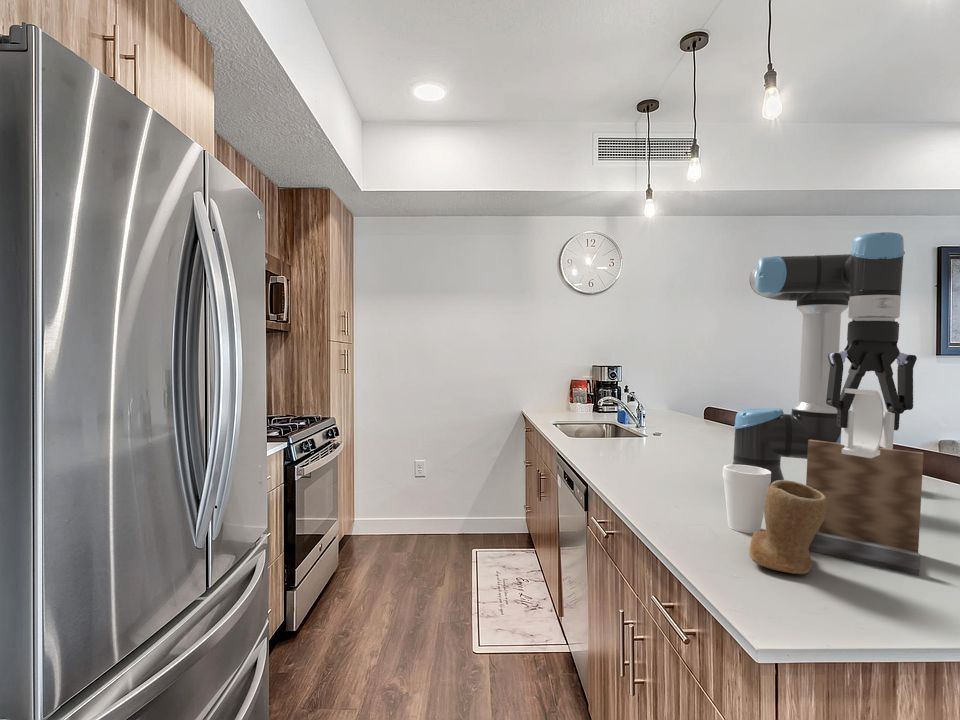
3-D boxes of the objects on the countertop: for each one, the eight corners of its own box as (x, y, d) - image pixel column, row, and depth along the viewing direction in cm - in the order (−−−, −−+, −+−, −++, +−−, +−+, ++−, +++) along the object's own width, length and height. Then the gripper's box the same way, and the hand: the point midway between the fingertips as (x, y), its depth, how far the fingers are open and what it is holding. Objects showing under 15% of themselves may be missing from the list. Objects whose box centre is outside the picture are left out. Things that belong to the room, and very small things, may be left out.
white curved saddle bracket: (841, 453, 97) (844, 388, 96) (852, 449, 101) (855, 386, 100) (871, 458, 93) (874, 390, 93) (882, 454, 97) (885, 389, 97)
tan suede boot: (824, 587, 88) (829, 497, 87) (745, 569, 94) (748, 485, 94) (822, 557, 101) (826, 479, 100) (752, 543, 107) (755, 469, 106)
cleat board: (795, 547, 105) (799, 447, 105) (805, 530, 116) (809, 439, 115) (919, 575, 93) (925, 462, 93) (917, 553, 104) (923, 452, 103)
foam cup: (764, 524, 119) (767, 467, 119) (772, 538, 110) (775, 476, 110) (718, 519, 122) (720, 462, 122) (722, 531, 113) (725, 471, 113)
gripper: (825, 318, 94) (819, 447, 95) (946, 320, 91) (938, 454, 92) (807, 320, 101) (801, 439, 102) (918, 321, 98) (911, 445, 99)
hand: (866, 446), depth 97 cm, fingers closed on white curved saddle bracket, 6 cm apart
